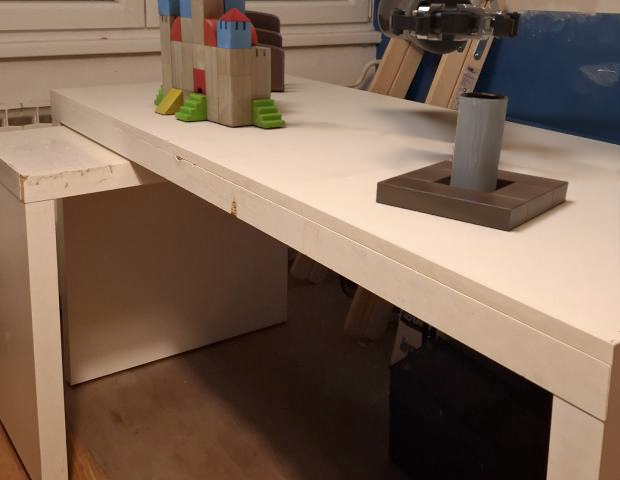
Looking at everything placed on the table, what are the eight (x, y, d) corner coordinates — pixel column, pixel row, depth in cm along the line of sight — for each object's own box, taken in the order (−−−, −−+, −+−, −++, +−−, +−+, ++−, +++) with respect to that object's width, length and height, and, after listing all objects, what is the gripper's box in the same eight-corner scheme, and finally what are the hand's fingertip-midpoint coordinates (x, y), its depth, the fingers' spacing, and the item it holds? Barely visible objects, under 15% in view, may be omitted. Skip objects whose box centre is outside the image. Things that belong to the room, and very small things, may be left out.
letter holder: (181, 84, 151) (177, 7, 145) (279, 85, 154) (280, 10, 148) (180, 91, 142) (176, 9, 136) (284, 92, 145) (285, 12, 139)
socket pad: (443, 177, 86) (445, 159, 85) (565, 200, 78) (568, 181, 77) (375, 201, 75) (376, 182, 75) (508, 231, 68) (511, 209, 67)
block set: (303, 125, 113) (307, -17, 105) (222, 133, 105) (219, -20, 97) (207, 100, 133) (204, -21, 125) (133, 105, 125) (124, -24, 117)
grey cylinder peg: (439, 199, 77) (450, 94, 72) (465, 192, 80) (477, 90, 75) (476, 209, 74) (491, 100, 69) (502, 201, 77) (517, 96, 72)
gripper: (382, -16, 92) (402, -15, 78) (496, -13, 93) (538, -12, 78) (378, 50, 96) (397, 62, 81) (489, 52, 96) (527, 65, 82)
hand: (466, 26), depth 80 cm, fingers open, 8 cm apart
